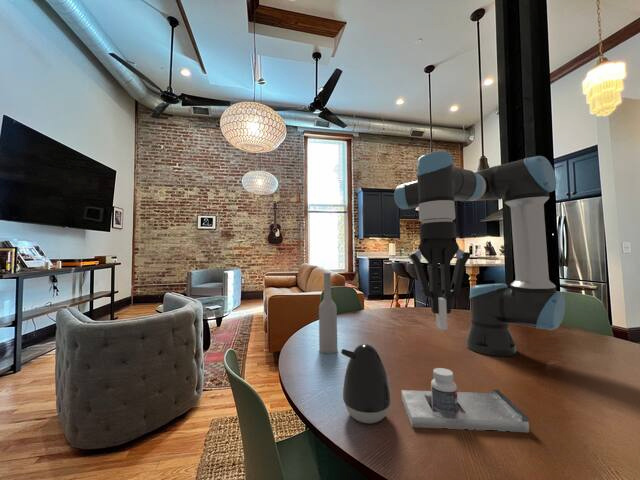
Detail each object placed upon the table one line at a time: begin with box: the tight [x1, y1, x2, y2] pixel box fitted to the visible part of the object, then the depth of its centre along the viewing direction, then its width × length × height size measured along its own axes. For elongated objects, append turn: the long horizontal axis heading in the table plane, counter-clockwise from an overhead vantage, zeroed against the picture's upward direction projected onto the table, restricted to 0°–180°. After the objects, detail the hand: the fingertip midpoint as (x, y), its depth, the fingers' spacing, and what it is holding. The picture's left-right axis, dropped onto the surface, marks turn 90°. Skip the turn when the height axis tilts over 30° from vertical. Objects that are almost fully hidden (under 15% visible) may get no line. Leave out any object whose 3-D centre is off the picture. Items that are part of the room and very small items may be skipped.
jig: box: [401, 389, 530, 434], centre depth 60 cm, size 22×11×3 cm, turn 84°
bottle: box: [318, 272, 338, 355], centre depth 101 cm, size 7×7×28 cm
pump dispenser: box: [340, 343, 392, 424], centre depth 60 cm, size 10×10×15 cm
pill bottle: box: [430, 367, 459, 413], centre depth 61 cm, size 5×5×9 cm
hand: (441, 327), depth 62 cm, fingers closed
